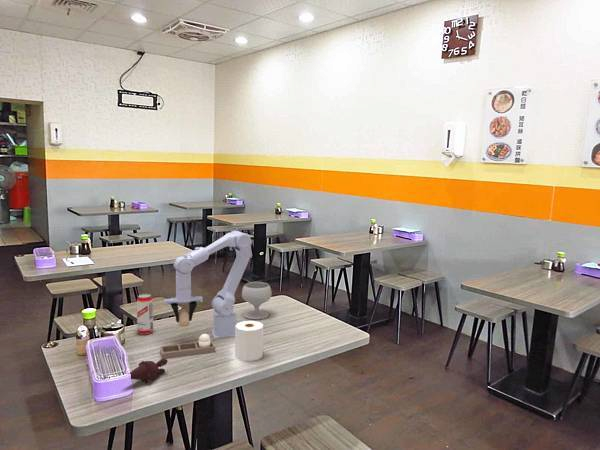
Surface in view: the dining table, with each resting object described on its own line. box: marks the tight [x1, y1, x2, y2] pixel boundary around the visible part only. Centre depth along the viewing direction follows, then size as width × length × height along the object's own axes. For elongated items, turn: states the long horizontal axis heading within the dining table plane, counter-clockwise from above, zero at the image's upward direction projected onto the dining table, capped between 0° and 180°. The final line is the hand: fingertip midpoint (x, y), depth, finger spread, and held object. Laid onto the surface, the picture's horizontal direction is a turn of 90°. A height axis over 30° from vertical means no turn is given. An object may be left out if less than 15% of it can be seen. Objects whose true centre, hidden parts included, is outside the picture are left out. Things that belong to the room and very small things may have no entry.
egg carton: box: [159, 339, 216, 360], centre depth 165 cm, size 20×7×2 cm, turn 112°
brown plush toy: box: [129, 358, 168, 384], centre depth 143 cm, size 7×7×15 cm
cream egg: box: [198, 333, 211, 348], centre depth 167 cm, size 4×4×6 cm
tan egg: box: [177, 309, 191, 328], centre depth 174 cm, size 4×4×6 cm
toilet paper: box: [234, 320, 264, 362], centre depth 163 cm, size 10×10×12 cm
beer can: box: [136, 293, 154, 336], centre depth 183 cm, size 6×6×16 cm
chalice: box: [241, 281, 273, 320], centre depth 207 cm, size 14×14×15 cm
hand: (183, 320), depth 174 cm, fingers closed on tan egg, 4 cm apart
